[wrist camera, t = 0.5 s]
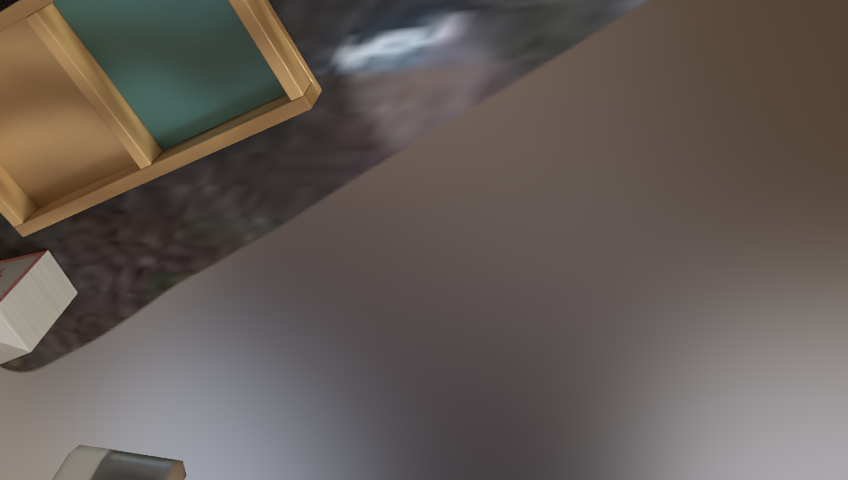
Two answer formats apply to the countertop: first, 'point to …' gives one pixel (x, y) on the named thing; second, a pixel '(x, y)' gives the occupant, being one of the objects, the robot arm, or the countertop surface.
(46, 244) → the countertop surface
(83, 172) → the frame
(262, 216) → the countertop surface
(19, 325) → the white and red box
